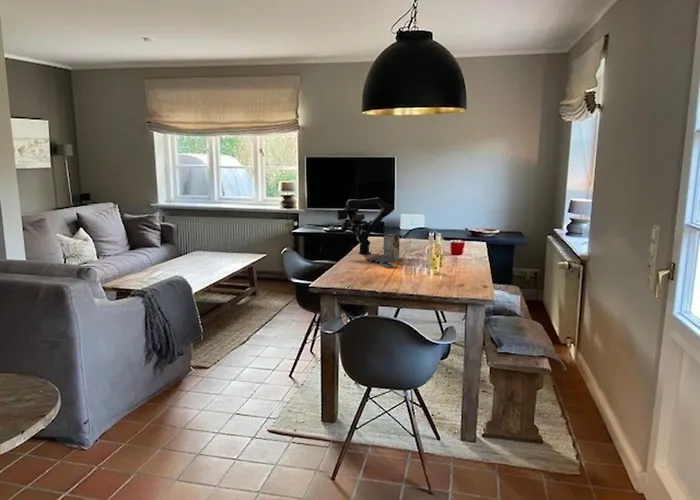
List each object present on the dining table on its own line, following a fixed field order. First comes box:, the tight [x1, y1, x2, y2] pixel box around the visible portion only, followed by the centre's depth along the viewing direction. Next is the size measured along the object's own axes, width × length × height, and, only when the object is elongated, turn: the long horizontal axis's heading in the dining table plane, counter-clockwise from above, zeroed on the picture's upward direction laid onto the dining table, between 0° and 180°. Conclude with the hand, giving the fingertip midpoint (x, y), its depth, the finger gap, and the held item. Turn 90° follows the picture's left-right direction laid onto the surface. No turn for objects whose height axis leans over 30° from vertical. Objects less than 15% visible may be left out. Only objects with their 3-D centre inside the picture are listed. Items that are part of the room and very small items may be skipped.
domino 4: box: [379, 262, 395, 269], centre depth 319 cm, size 2×4×10 cm
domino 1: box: [368, 254, 384, 262], centre depth 331 cm, size 2×4×10 cm
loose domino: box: [364, 252, 380, 261], centre depth 335 cm, size 2×4×10 cm
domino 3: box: [379, 257, 396, 264], centre depth 321 cm, size 2×4×10 cm
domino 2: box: [374, 256, 390, 264], centre depth 326 cm, size 2×4×10 cm
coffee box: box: [383, 233, 400, 262], centre depth 337 cm, size 9×6×16 cm
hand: (359, 236), depth 345 cm, fingers closed
